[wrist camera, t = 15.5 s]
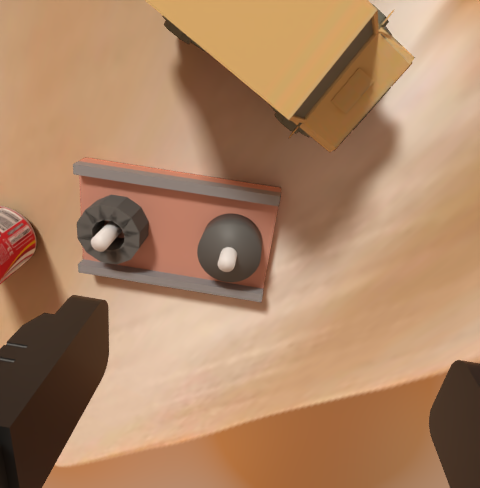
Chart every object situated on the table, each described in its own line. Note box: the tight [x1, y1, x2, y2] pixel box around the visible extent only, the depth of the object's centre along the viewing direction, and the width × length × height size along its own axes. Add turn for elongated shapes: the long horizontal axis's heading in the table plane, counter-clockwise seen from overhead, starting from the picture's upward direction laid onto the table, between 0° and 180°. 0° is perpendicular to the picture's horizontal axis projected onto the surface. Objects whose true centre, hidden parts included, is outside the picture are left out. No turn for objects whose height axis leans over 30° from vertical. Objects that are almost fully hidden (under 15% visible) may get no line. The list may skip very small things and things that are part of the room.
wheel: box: [77, 195, 149, 265], centre depth 42 cm, size 6×6×3 cm
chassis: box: [73, 157, 281, 302], centre depth 41 cm, size 20×12×6 cm, turn 82°
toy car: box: [145, 0, 415, 152], centre depth 28 cm, size 10×19×15 cm, turn 52°
